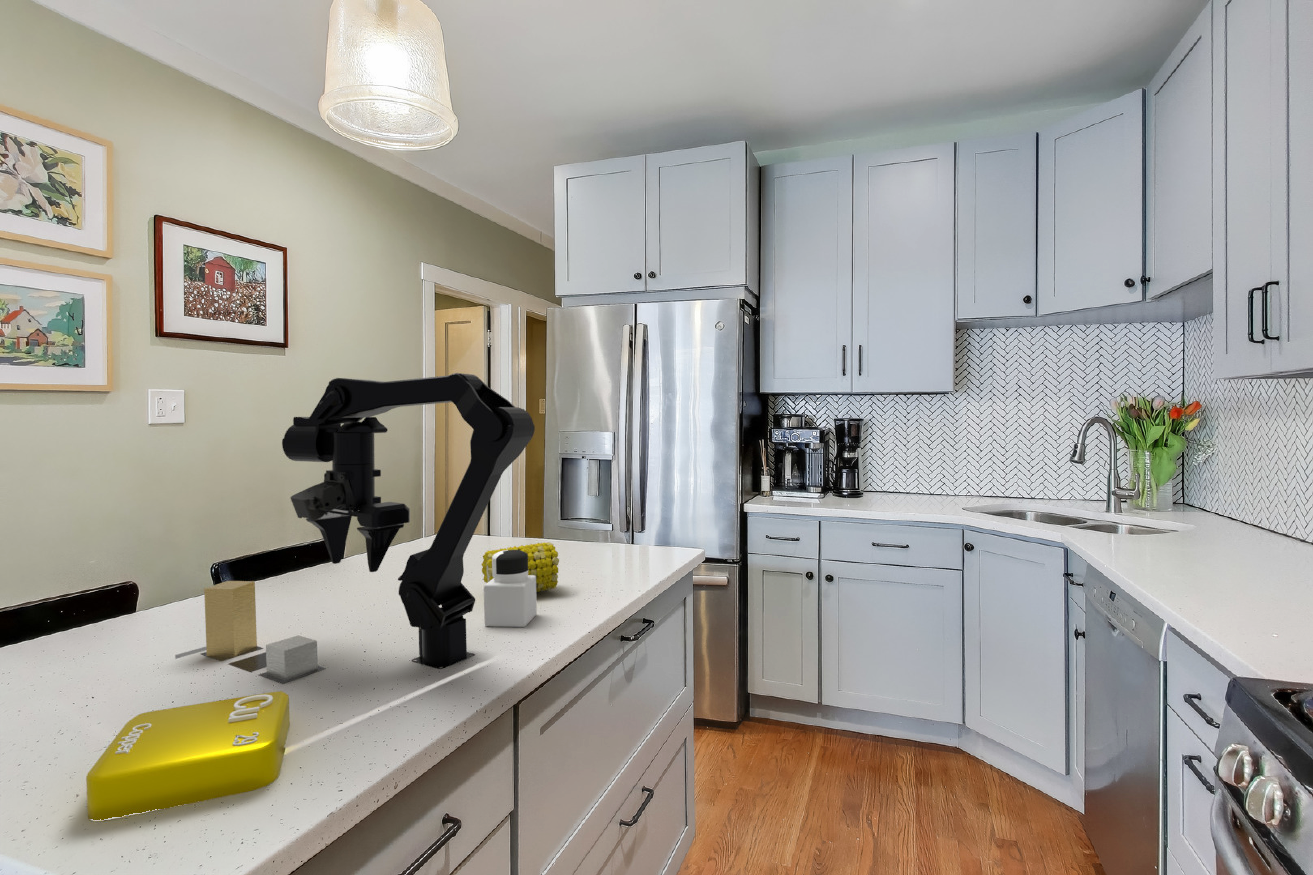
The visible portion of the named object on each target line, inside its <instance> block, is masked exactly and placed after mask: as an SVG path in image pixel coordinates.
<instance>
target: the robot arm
mask: <svg viewBox="0 0 1313 875" xmlns="http://www.w3.org/2000/svg"><path fill="white" fill-rule="evenodd" d="M447 403H453V404H454V405H455V407H456V408H457V411H458V413H459V414H460V416H461V417H462V419H463V421H464V422H466V423H467V425H468V426H470V427H471V428H472V429H473V431H472V434H471V437H470V441H469V445H470V446H469V447H470V461H469V464H468V466H467V468H466V470H465V472H464V475H463V477H462V480H461V481H460V483H459V486H458V487H457V490H456V492H455V493H454V495H453V496H454V497H453V499H452V501H451V502H450V505H449V507H448V509H447V511H446V513H445V515H444V517H443V521H442V522H441V524H440V526H439V529H438V530H437V533H436V535H435V538H434V539H433V541H432V544H431V545H430V547H429V548H428V549H424V550H422V551H418V552H415V553H413V554H411V555H409V557H408V559H407V561H406V563H405V564H406V565H405V568H404V570H403V573H401V575H400V576H398V578H397V581H400V584H399V585H398V586H399V587H398V596H399V597H400V600H401V602H402V604H403V607H404V610H405V612H406V616H407V618H408V621H409V625H410V627H411V628H412V627H413V628H418V655H419V656H418V657H416V658H413V659H411V660H410V661H411V662H412V663H416V664H419V665H423V666H426V667H430V668H434V669H437V670H443V669H446V668H448V667H450V666H453V665H455V664H458V663H460V662H463V661H465V660H468V659H469V658H472V657H474V656H476V654H475V653H473V652H468V651H467V619H466V618H464V615H467V614H468V613H471V612H472V611H473V610H474V606H475V604H476V598H475V596H474V595H473V594H472V593H471V592H470V591H469V590H468V589H467V588H466V586H465V585H464V584H463V583H462V580H463V576H464V573H465V572H464V556H465V553H466V550H467V549H468V546H469V544H470V542H471V540H472V538H473V536H474V534H475V532H476V530H477V529H478V528H477V527H478V526H479V523H480V521H481V519H482V517H483V516H484V513H485V511H486V508H487V507H488V504H489V503H490V501H491V498H492V496H493V494H494V492H495V490H496V487H497V485H498V483H499V481H500V479H501V477H502V475H503V473H504V472H505V471H506V469H508V467H509V466H511V465H512V464H513V462H514V461H515V460H516V459H518V457H519V456H521V454H522V453H523V451H524V450H525V448H526V447H527V445H528V444H529V443H530V441H531V440H532V438H533V436H534V433H535V424H534V422H533V418H532V416H531V415H530V413H529V412H528V411H526V410H525V409H524V408H521V407H516V406H515V405H514V404H513V403H512V402H510V401H509V400H508V399H507V398H505V397H504V396H502V394H501V395H500V394H499V393H498V392H496V391H495V390H494V389H492V388H490V387H489V386H488V385H487V384H486V383H484V381H483V380H482V379H481V378H480V377H478V376H477V375H475V374H469V373H461V372H454V373H452V374H448V375H439V376H430V377H421V378H420V377H419V378H410V379H409V378H408V379H401V380H391V381H381V380H371V379H359V378H345V377H344V378H343V377H336V378H332V379H331V380H330V381H329V382H328V385H327V386H326V388H325V391H324V393H323V395H322V397H321V398H320V400H319V401H318V403H317V404H316V406H315V408H314V409H313V411H312V412H311V413H310V416H294V417H293V418H292V422H293V423H292V425H291V426H289V427H288V428H287V430H286V431H285V433H284V436H283V438H282V442H281V446H282V447H281V448H282V450H283V453H284V454H285V455H284V456H286V458H288V459H289V460H290V461H295V462H313V463H314V462H316V463H329V462H332V463H331V464H332V466H331V467H332V468H331V469H330V470H325V472H324V473H323V474H324V475H323V476H324V478H323V482H321V483H318V484H315V485H312V486H309V487H308V488H306V489H303V490H302V491H299V492H297V493H295V494H293V495H291V496H290V502H291V503H292V506H293V508H294V511H295V513H296V516H297V518H299V519H303V518H304V519H305V520H306V522H308V523H311V524H312V525H313V526H314V527H316V528H317V529H318V530H319V531H320V533H321V536H322V539H323V542H324V543H325V546H326V550H327V552H328V555H329V557H330V561H331V563H332V564H334V565H336V564H337V565H338V564H340V563H341V562H342V558H343V555H344V552H345V547H346V542H347V538H348V534H349V530H350V526H351V521H352V518H353V517H356V520H357V522H358V523H359V526H360V527H358V526H357V527H356V530H357V531H358V532H359V533H360V534H361V535H362V536H363V537H364V538H365V545H366V546H365V548H366V558H367V566H368V572H369V573H375V572H378V571H379V568H380V567H381V564H382V563H383V560H384V559H385V556H386V554H387V552H388V549H389V548H390V546H391V544H392V542H393V541H394V539H395V537H396V536H397V534H398V533H399V531H400V529H403V528H404V527H405V524H409V523H410V521H411V520H410V518H411V517H410V516H411V514H410V510H411V509H410V508H409V507H408V506H407V505H406V504H405V503H402V502H396V501H395V502H394V501H393V502H392V501H385V502H382V496H376V495H375V494H376V492H375V491H376V489H375V487H376V486H375V484H376V483H375V479H376V477H378V478H379V477H381V476H382V471H381V469H378V468H375V434H386V433H388V428H387V427H386V426H385V425H384V424H382V423H381V422H380V421H379V420H378V418H377V417H376V416H378V415H380V414H385V413H387V412H389V411H391V410H393V409H396V408H401V407H403V408H404V407H412V406H413V407H414V406H423V405H424V406H425V405H435V404H447ZM440 606H441V607H440Z"/></svg>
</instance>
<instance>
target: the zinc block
mask: <svg viewBox="0 0 1313 875" xmlns="http://www.w3.org/2000/svg"><path fill="white" fill-rule="evenodd" d="M265 652H266V664H267V667H266V672H267V674H268V675H271V676H274V677H277V678H279V679H282V680H285V681H286V680H288V679H291V678H294V677H297V676H300V675H303V674H306V673H308V672H311V671H314V670H317V669H318V666H319V665H318V664H319V662H318V660H319V659H318V658H319V657H318V641H317V640H316V639H312V638H309V637H306V636H302V635H294V636H292V637H289V638H284V639H281V640H279V641H278V640H277V641H275V642H271V643H268V644H265Z"/></svg>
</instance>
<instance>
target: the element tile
mask: <svg viewBox="0 0 1313 875" xmlns="http://www.w3.org/2000/svg"><path fill="white" fill-rule="evenodd" d="M290 718H291V717H290V697H289V694H288V693H286V692H284V691H281V690H278V691H272V692H271V691H270V692H264V693H260V694H253V695H246V696H245V695H244V696H240V697H234V698H233V697H232V698H226V699H221V700H216V701H214V700H213V701H209V702H207V701H206V702H202V703H196V704H195V703H194V704H189V705H182V706H178V707H177V706H176V707H172V708H171V707H170V708H165V709H159V710H152V711H147V712H141V713H139V714H137V715H136V716H134V717H133V718H131V719H130V720H129V721H127V722H126V723H125V724H124V726H123V727H122V728H121V730H120V731H119V733H117V735H116V736H115V737H114V739H113V740H112V741H111V742H110V744H109V745H108V746H107V748H106V749H105V751H104V752H103V753H102V754H101V755H100V757H99V758H98V760H96V762H95V763H94V764H93V766H92V767H91V769H90V770H89V771H88V772H87V775H86V779H85V782H86V806H87V818H88V817H89V818H88V820H89V819H93V820H100V819H101V820H104V819H108V818H112V817H122V816H124V815H129V814H133V813H142V812H146V811H149V810H150V811H152V810H155V809H157V810H158V809H163V810H167V809H171V808H170V807H172V808H175V807H174V806H177V807H179V806H178V805H182V806H185V805H184V804H187V805H191V804H195V803H199V802H200V801H201V802H204V800H206V801H210V800H214V799H219V798H224V797H228V796H235V795H238V794H242V793H247V792H252V791H256V790H259V789H261V788H265V787H267V786H269V785H271V784H273V783H274V782H275V781H276V780H277V779H278V777H279V776H280V775H281V774H280V773H281V770H282V765H283V760H284V756H285V753H286V752H285V751H286V747H285V745H286V741H287V737H288V732H289V729H290V724H291V720H290ZM270 783H271V784H270ZM198 801H199V802H198ZM164 808H165V809H164ZM158 811H159V810H158Z"/></svg>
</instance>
